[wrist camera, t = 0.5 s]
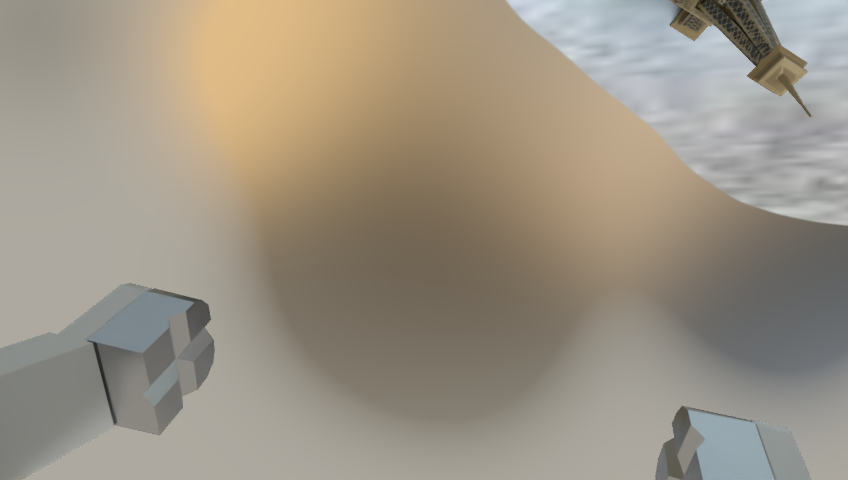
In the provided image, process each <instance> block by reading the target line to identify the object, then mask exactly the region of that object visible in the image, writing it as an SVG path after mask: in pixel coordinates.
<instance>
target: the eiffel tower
mask: <svg viewBox="0 0 848 480" xmlns="http://www.w3.org/2000/svg"><path fill="white" fill-rule="evenodd" d="M670 1H672V2H673V3H675V4H676V5H678V6H680V7H681V8H683V10H682V11H681V12H680V13H679V15H678V16H677V17H676V18H675V19H674V20H673V22H672V23H671V24H670V26H671V27H673V28H674V29H676V30H678V31H679V32H681V33H683V34H684V35H686V36H687V37H689V38H691V39H692V40H694V41H695V40H696V39H697V38H698V37H699V35H700V34H701V33H702V32H703V31H704V30H705V29H706V28H707V27H708V25H709V26H710V27H711V25H712V24H713V25H714V26H716V27H717V28H718V29H719V30H720V31H721V32H722V33H723V34H724V35H725V36H726V37H727V38H728V39H729V40H730V41H731V42H732V43H733V44H734V45H735V46H736V47H737V48H738V49H739V50H740V51H741V52H742V53H743V54H744V55H745V56H746V57H747V58H748V59H749V60H750V61H751V62H752V63H753V64H754V65H755V66H756V67H755V68H754V69H753V70H752V71H751V72H750V73H749V74H748V75H747V77H749V78H750V79H752V80H754V81H755V82H757V83H759V84H760V85H762V86H763V87H765V88H767V89H768V90H770V91H771V92H773V93H776V94H777V95H779V96H782V95H783V94H784V93H785V92H786V91H787V90H788V91H789V92H790V93H791V94H792V96H793V97H794V98H795V99H796V100H797V102H798V103H799V104H801V106H802V107H803V108H804V110H805V111H806V113H807V114H808V115H809V117H810V118H812V116H811V114H810V113H809V111H808V110H807V109H806V107H805V106H804V105H803V103H802V100H801V99H800V97H799V96H798V94H797V92H796V91H795V89H794V87H793V85H794V84H795V83H796V82H797V81H798V80H799V79H800V78H801V77H803V76H804V75H805V74H806V73H807V70H805V69H804V67H805V66H806V64H807V62H805V61H804V60H802V59H801V58H799V57H798V56H796V55H795V54H793V53H792V52H790V51H788V50H787V49H785V48H784V47H782V46H781V44H780V42H779V39H778V37H777V35H776V33H775V31H774V29H773V27H772V25H771V22H770V20H769V18H768V16H767V14H766V12H765V9H764V7H763V5H762V3H761V1H762V0H670Z"/></svg>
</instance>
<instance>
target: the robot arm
mask: <svg viewBox="0 0 848 480" xmlns="http://www.w3.org/2000/svg"><path fill="white" fill-rule="evenodd" d="M210 320H211V317H210V311H209V306H208V304H207V303H205V302H204V301H202V300H199V299H195V298H191V297H187V296H183V295H179V294H175V293H171V292H167V291H163V290H158V289H155V288H154V289H152V288H148V287H144V286H140V285H136V284H132V283H128V284H122V285H120V286H119V287H117V288H116V289H115V290H113V291H112V292H111V293H110V294H108V295H107V296H106V297H104V299H102V300H101V301H100V302H98V303H97V304H96V305H94V306H93V307H92V308H90V310H88V311H87V312H85V313H84V314H83V315H82V316H80V317H79V318H78V319H76V320H75V321H74V322H73V323H71V324H70V325H69V326H67V327H66V328H65V329H64V330H62V331H61V332H60V333H58V334H54V333H46V334H43V335H40V336H37V337H34V338H31V339H28V340H25V341H22V342H18V343H15V344H12V345H9V346H6V347H3V348H0V480H22V479H24V478H26V477H27V476H29V475H31V474H32V473H35V472H36V471H38V470H40V469H42V468H43V467H45V466H47V465H49V464H50V463H52V462H54V461H56V460H58V459H59V458H61V457H63V456H65V455H67V454H68V453H70V452H72V451H73V450H75V449H77V448H79V447H81V446H83V445H84V444H86V443H88V442H90V441H92V440H93V439H95V438H97V437H98V436H100V435H102V434H104V433H106V432H108V431H109V430H111V429H113V428H114V425H117V426H121V427H126V428H130V429H135V430H139V431H143V432H148V433H152V434H156V435H161V433H162V432H163V431H164V430H165V428H166V427H167V426H168V425H169V424H170V422H171V421H172V420H173V419H174V418H175V416H176V415H177V414H178V413H179V411H180V410H181V409H182V408H183V400H182V396H184V395H186V394H188V393H191V392H193V391H195V390H197V389H198V388H199V387H200V386H201V384H202V383H203V382H204V381H205V379H206V378H207V376H208V374H209V371H210V369H211V366H212V364H213V359H214V351H215V349H214V340H213V338H212V337H211V335H210V334H209V333H208V332H207V330H206V329H205V328H204V327H205V326H206V325H207V323H209V321H210ZM672 426H673V433H674V438H673V439H671V440H669V441H667V442H666V443H664V444H663V447H662V450H661V452H660V455H659V458H658V463H657V470H656V480H812V479H811V477H810V475H809V472H808V470H807V467H806V465H805V463H804V460H803V458H802V456H801V453H800V451H799V448H798V446H797V444H796V441H795V439H794V436H793V434H792V432H791V431H790V430H788V428H786V427H784V426H779V425H774V424H769V423H764V422H758V421H754V420H750V421H749V420H746V419H741V418H736V417H732V416H727V415H723V414H718V413H713V412H709V411H704V410H699V409H695V408H690V407H685V406H682V407H681V408H680V409H679V410H678V412H677V413H676V415H675V418H674V420H673V422H672Z"/></svg>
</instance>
